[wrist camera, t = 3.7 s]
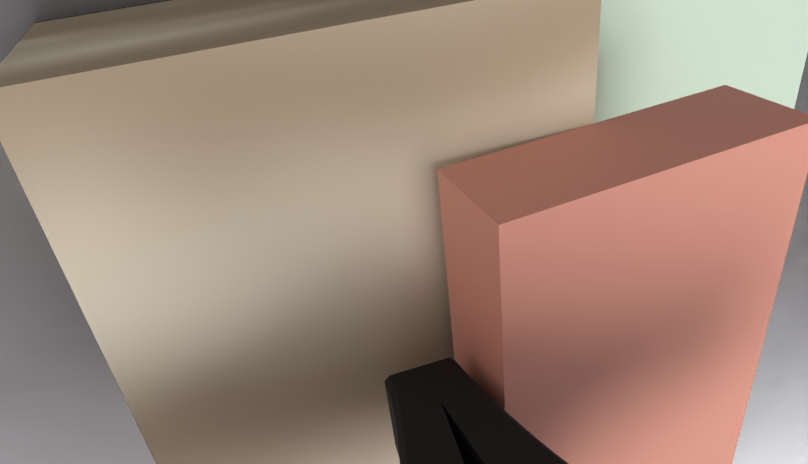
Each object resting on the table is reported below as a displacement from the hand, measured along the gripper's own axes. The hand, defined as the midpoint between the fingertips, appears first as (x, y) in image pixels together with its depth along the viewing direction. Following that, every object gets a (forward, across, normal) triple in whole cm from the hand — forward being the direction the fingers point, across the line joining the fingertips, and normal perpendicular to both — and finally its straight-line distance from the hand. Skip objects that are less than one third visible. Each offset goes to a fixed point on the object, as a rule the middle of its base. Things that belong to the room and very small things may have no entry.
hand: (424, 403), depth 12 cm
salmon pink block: (+1, -4, 0) cm, 4 cm away
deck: (+5, +1, 0) cm, 5 cm away
